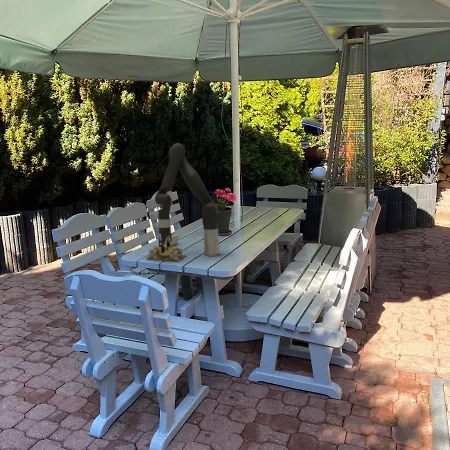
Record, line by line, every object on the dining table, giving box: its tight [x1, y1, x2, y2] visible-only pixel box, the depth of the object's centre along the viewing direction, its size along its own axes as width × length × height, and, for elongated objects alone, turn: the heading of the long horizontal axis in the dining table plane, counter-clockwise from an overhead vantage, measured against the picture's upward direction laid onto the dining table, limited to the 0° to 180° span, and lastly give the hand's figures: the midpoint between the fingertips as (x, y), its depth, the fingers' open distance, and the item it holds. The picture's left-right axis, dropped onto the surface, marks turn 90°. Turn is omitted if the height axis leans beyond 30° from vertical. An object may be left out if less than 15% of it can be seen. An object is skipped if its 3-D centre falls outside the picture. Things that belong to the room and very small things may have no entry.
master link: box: [153, 244, 179, 255], centre depth 287 cm, size 15×3×5 cm, turn 73°
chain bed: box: [145, 247, 187, 263], centre depth 288 cm, size 22×12×6 cm, turn 72°
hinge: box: [165, 232, 180, 247], centre depth 317 cm, size 17×5×10 cm, turn 151°
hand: (165, 251), depth 287 cm, fingers open, 8 cm apart
